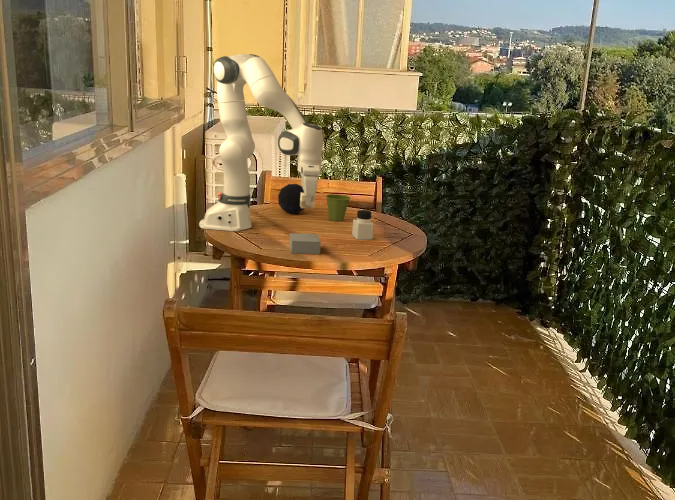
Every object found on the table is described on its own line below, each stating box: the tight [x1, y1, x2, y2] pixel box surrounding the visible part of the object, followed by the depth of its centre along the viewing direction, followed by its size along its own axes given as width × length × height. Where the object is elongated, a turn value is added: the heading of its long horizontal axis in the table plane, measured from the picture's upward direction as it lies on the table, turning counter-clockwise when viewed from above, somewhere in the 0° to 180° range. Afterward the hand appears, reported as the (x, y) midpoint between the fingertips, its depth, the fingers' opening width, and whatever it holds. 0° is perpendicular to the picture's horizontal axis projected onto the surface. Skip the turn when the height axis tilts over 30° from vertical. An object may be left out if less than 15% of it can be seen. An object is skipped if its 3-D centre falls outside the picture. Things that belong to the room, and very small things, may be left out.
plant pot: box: [325, 193, 352, 222], centre depth 299 cm, size 12×12×11 cm
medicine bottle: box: [351, 209, 375, 241], centre depth 271 cm, size 7×7×12 cm
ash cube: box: [300, 193, 316, 210], centre depth 243 cm, size 5×5×5 cm
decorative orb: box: [277, 183, 306, 215], centre depth 306 cm, size 14×15×15 cm
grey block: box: [288, 232, 321, 255], centre depth 248 cm, size 11×11×5 cm
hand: (307, 202), depth 244 cm, fingers closed on ash cube, 5 cm apart
